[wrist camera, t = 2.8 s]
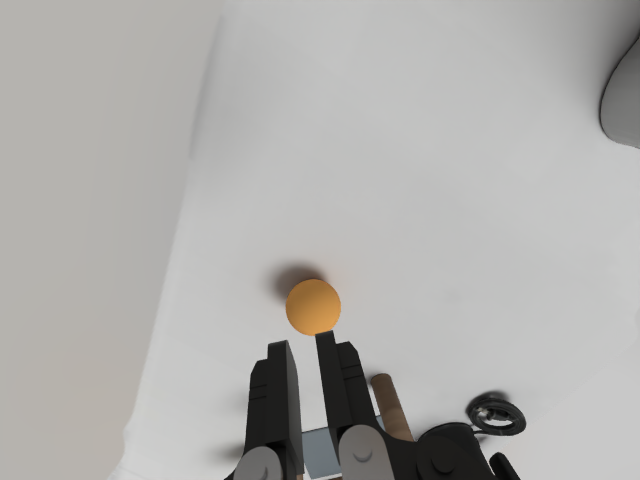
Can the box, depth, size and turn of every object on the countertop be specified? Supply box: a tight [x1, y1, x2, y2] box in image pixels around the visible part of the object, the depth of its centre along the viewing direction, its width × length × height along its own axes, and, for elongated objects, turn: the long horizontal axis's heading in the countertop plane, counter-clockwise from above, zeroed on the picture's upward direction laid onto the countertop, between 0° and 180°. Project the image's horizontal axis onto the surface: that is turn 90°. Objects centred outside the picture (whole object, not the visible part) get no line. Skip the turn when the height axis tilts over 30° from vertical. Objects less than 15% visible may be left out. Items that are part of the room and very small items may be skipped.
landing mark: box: [302, 415, 385, 479], centre depth 46 cm, size 14×14×1 cm
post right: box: [371, 374, 414, 442], centre depth 35 cm, size 3×3×9 cm
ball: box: [286, 279, 341, 336], centre depth 28 cm, size 5×5×5 cm
